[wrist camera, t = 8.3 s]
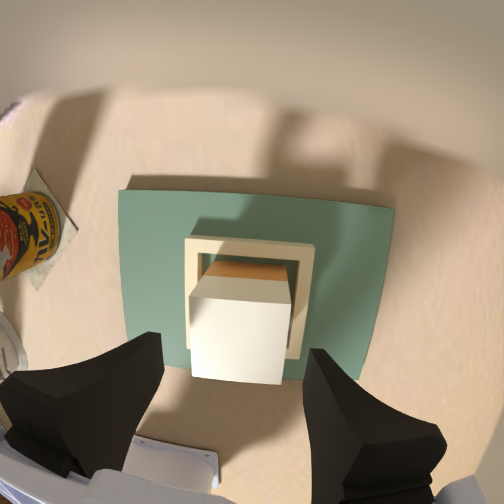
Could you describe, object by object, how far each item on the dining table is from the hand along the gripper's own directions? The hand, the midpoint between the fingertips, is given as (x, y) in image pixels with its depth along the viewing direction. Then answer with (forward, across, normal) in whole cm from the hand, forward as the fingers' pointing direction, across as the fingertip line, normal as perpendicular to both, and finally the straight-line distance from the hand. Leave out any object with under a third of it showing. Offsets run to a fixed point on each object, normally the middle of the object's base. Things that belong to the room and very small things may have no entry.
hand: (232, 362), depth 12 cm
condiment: (+9, +19, -3) cm, 21 cm away
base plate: (+8, 0, 0) cm, 8 cm away
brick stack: (+7, 0, 0) cm, 7 cm away
